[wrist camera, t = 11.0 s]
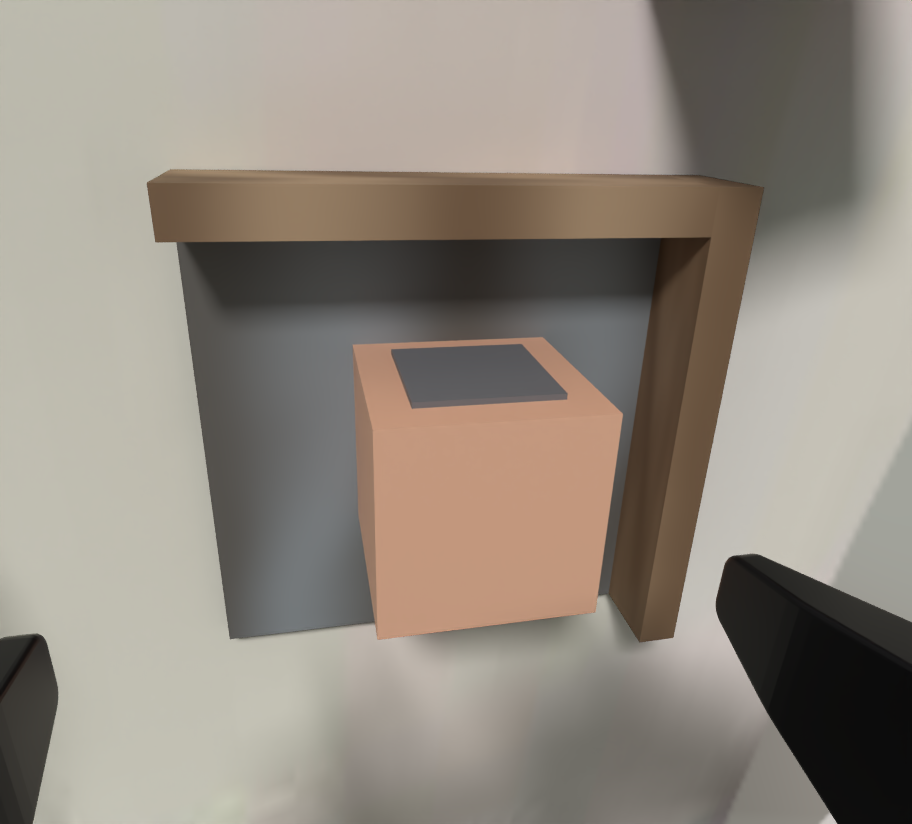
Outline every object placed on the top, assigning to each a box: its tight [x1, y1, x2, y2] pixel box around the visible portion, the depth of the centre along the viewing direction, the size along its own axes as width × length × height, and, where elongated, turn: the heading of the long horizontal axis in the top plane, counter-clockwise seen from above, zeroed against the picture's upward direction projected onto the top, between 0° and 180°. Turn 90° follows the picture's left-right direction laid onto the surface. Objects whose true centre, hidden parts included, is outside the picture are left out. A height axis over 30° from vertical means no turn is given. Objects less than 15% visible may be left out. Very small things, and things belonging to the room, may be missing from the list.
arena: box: [147, 169, 764, 642], centre depth 20 cm, size 14×14×3 cm
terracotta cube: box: [353, 337, 623, 640], centre depth 18 cm, size 6×6×6 cm
